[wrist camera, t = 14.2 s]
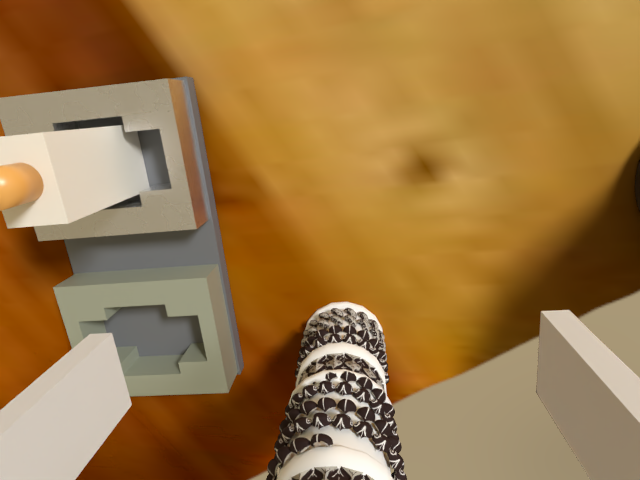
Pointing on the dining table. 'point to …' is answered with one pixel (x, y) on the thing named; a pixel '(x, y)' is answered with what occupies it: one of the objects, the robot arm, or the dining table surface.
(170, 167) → the socket
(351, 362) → the decorative candle
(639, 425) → the robot arm
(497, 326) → the dining table surface
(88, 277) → the grey-green cross cutout frame
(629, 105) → the dining table surface
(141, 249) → the board
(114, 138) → the plug
